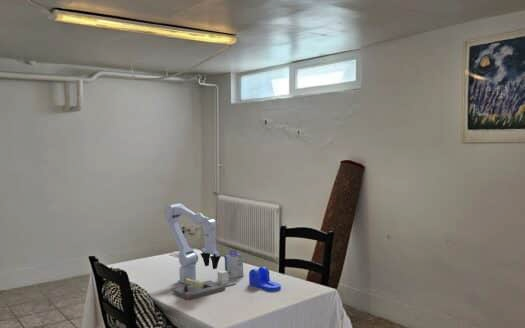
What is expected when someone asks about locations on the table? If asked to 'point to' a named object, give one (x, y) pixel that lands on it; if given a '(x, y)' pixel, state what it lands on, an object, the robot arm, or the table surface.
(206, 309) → the table surface
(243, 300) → the table surface
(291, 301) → the table surface
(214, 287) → the grey panel
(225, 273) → the plug
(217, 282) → the mat
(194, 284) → the brass flat bar
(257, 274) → the bracket
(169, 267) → the table surface
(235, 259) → the ink cartridge box
